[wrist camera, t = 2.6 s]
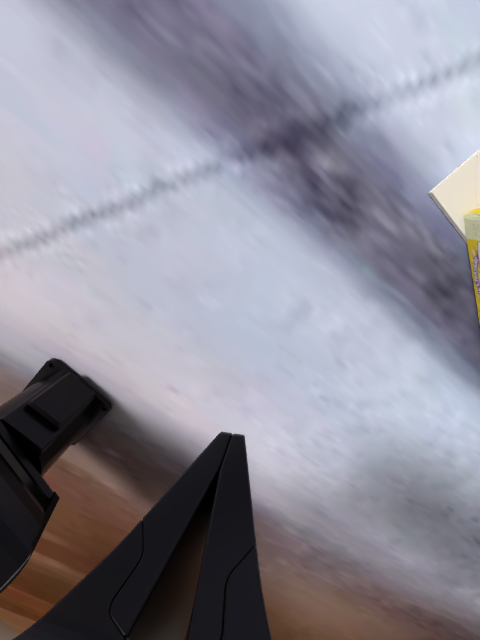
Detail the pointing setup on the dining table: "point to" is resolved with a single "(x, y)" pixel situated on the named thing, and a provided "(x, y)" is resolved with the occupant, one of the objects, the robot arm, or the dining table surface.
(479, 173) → the felt mat
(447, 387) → the dining table surface
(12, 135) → the dining table surface
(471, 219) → the candy box
